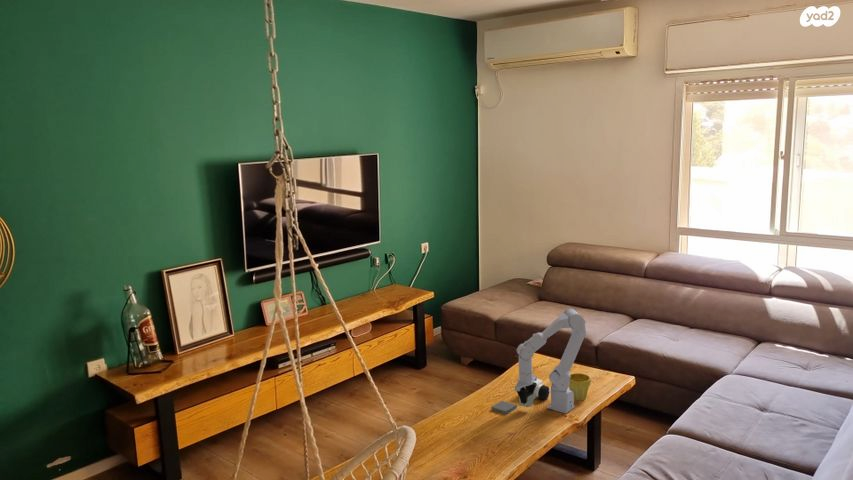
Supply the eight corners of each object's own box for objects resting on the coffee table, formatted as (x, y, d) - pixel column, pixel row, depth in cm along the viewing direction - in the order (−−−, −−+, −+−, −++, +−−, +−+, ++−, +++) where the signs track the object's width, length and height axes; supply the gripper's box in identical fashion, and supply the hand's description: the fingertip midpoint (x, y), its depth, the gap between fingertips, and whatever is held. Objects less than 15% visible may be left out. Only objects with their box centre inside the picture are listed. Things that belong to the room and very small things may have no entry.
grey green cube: (533, 403, 285) (533, 393, 284) (528, 407, 281) (527, 396, 280) (524, 401, 288) (524, 390, 287) (519, 405, 284) (518, 394, 283)
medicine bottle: (520, 394, 300) (543, 403, 292) (521, 380, 298) (544, 389, 291) (528, 389, 305) (551, 398, 298) (529, 375, 303) (552, 383, 296)
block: (516, 409, 288) (516, 405, 288) (506, 415, 282) (506, 411, 282) (501, 404, 293) (501, 400, 293) (491, 411, 288) (491, 406, 287)
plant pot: (595, 399, 293) (595, 379, 291) (575, 404, 289) (575, 383, 287) (581, 391, 302) (581, 371, 300) (562, 395, 298) (562, 375, 297)
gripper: (526, 364, 290) (527, 393, 292) (508, 375, 279) (509, 404, 281) (540, 367, 285) (541, 396, 287) (522, 378, 274) (523, 408, 277)
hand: (526, 401), depth 284 cm, fingers closed on grey green cube, 4 cm apart
